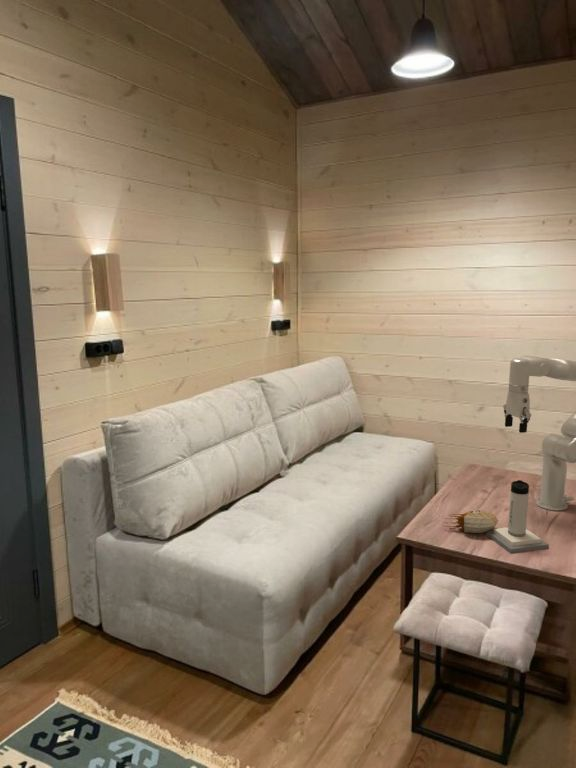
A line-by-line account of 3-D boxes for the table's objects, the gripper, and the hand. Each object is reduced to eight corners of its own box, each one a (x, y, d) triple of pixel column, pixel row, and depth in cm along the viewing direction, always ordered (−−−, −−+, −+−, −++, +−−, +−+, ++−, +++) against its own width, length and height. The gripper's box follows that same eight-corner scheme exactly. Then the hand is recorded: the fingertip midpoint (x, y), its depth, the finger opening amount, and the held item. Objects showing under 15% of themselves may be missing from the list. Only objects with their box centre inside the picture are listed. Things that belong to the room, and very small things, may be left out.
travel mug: (525, 530, 224) (528, 480, 220) (525, 537, 218) (529, 486, 214) (507, 528, 226) (511, 479, 222) (508, 535, 220) (511, 484, 216)
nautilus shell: (442, 536, 227) (441, 523, 241) (500, 538, 222) (496, 524, 236) (441, 516, 226) (441, 504, 241) (500, 518, 221) (496, 505, 235)
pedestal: (521, 530, 231) (522, 523, 231) (548, 548, 216) (549, 540, 215) (485, 534, 228) (486, 527, 227) (510, 553, 212) (510, 545, 212)
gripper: (540, 392, 232) (536, 434, 235) (513, 384, 248) (511, 423, 251) (523, 393, 230) (520, 435, 233) (498, 385, 246) (495, 424, 250)
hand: (515, 429), depth 242 cm, fingers open, 9 cm apart
